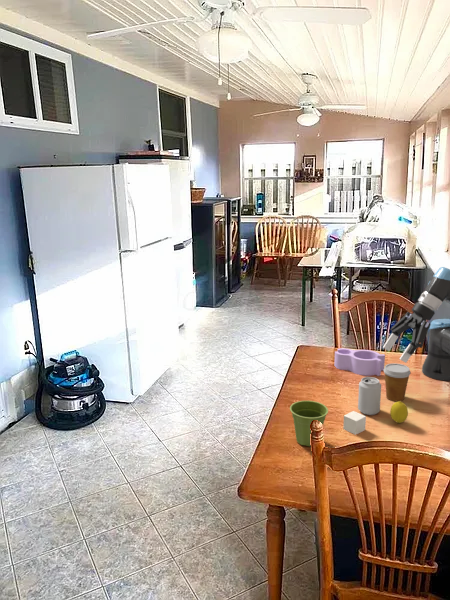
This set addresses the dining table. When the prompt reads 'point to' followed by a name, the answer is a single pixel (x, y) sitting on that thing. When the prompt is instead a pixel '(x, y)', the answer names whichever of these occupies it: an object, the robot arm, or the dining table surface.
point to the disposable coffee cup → (396, 381)
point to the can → (369, 395)
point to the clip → (360, 361)
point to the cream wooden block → (354, 422)
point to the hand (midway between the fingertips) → (393, 355)
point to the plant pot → (306, 418)
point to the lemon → (399, 412)
